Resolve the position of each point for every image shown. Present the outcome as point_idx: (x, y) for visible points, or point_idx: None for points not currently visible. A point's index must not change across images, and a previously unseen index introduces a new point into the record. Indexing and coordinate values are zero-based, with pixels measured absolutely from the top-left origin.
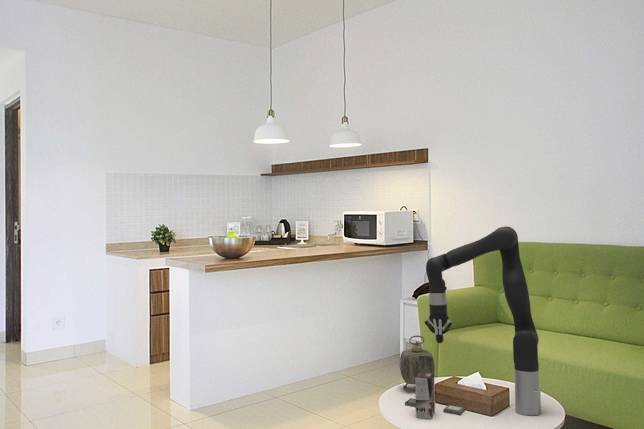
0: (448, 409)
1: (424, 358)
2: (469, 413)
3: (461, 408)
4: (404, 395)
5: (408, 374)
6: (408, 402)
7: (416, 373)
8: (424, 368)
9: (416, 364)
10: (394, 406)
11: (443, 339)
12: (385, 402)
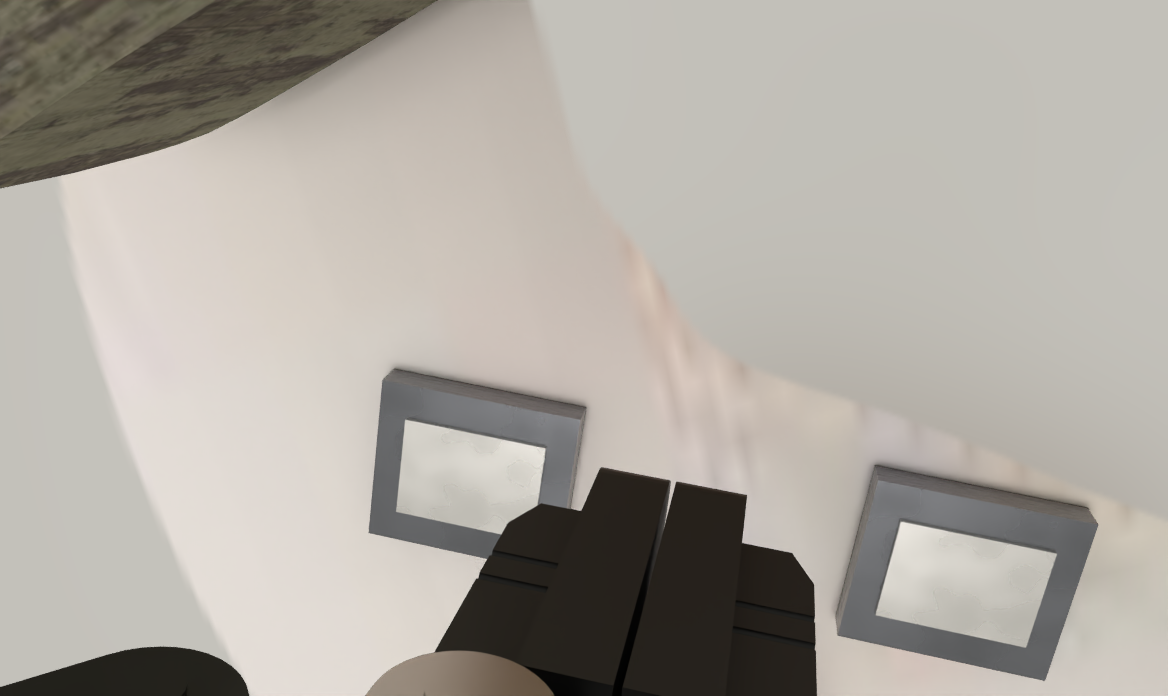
0: (897, 628)
1: (243, 2)
2: (1144, 579)
3: (1053, 561)
4: (258, 190)
5: (143, 148)
6: (406, 525)
7: (247, 78)
8: (335, 5)
9: (162, 88)
10: (294, 578)
11: (814, 613)
12: (163, 489)
